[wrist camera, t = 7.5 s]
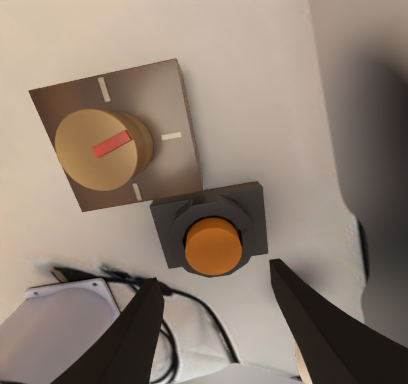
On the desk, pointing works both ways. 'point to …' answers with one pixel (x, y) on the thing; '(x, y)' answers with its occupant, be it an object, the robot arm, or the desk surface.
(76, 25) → the desk surface
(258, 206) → the switch block
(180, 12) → the desk surface
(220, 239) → the power button
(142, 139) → the dimmer knob
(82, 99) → the dimmer console
